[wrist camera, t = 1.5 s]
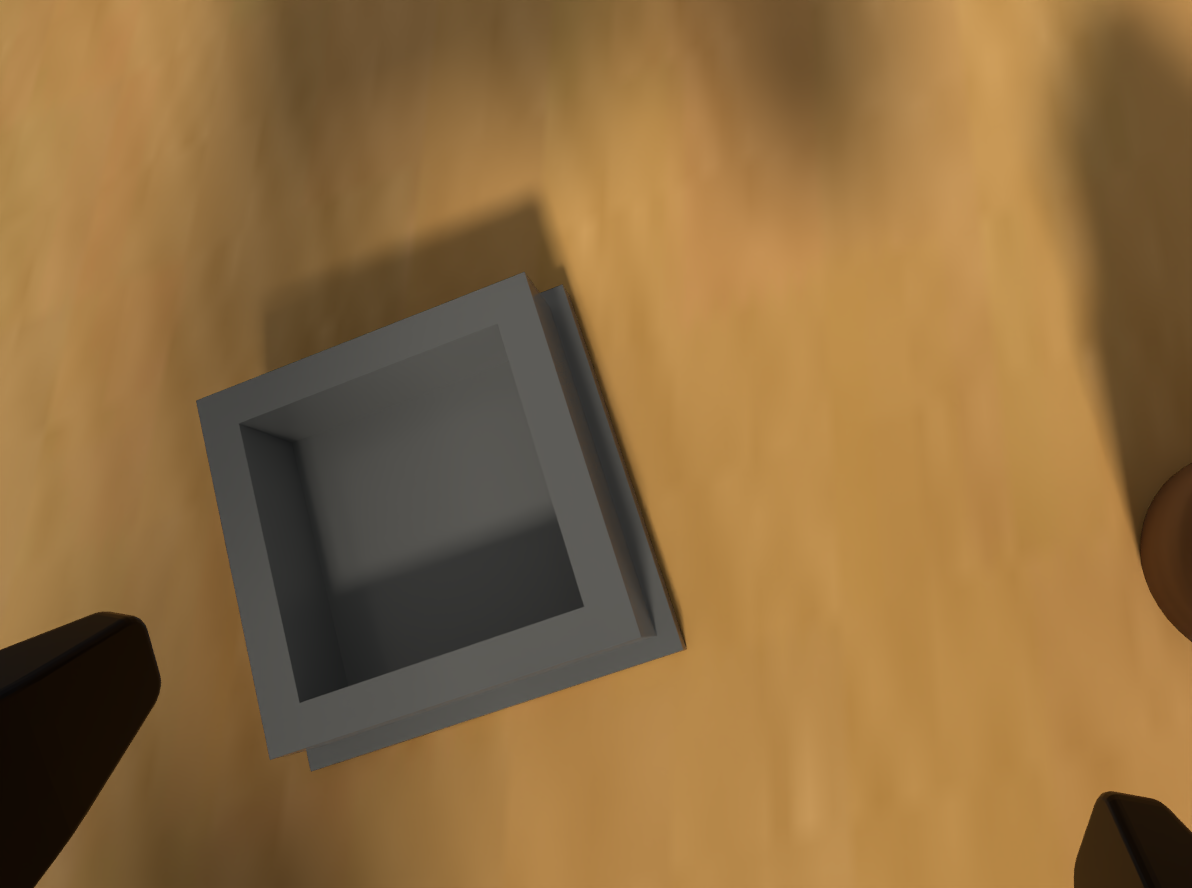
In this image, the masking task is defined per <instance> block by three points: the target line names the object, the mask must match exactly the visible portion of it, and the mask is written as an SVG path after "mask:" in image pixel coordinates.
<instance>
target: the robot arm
mask: <svg viewBox="0 0 1192 888" xmlns="http://www.w3.org/2000/svg"><path fill="white" fill-rule="evenodd" d="M160 687H161V678H160V673H159V670H158V666H157V662H156V659H155V655H154V652H153V648H152V645H151V641H150V637H149V634H148V630H147V628H146V625H145V624H144V623H143V622H142V620H141V619H139V618H137V617H135V616H131V615H125V614H119V613H114V612H98V613H95V614H92V615H89V616H87V617H84V618H82V619H79V620H76V621H74V622H71V623H69V624H66V625H63V626H61V627H58V628H56V629H53V630H51V631H48V632H45V633H43V634H40V635H38V636H35V637H32V638H30V639H27V640H25V641H22V642H19V643H17V644H14V645H12V646H9V647H7V648H4V649H1V650H0V888H34V887H35V886H36V884H37V883H38V882H39V880H40V879H41V878H42V876H43V875H44V874H45V872H46V871H47V870H48V868H49V867H50V866H51V864H52V863H53V862H54V860H55V859H56V858H57V856H58V855H59V853H60V852H61V851H62V849H63V848H64V846H65V845H66V844H67V842H68V841H69V840H70V838H71V837H72V835H73V834H74V832H75V831H76V829H77V828H78V826H79V825H80V823H81V822H82V820H83V818H84V817H85V815H86V814H87V812H88V811H89V809H90V808H91V806H92V804H93V803H94V801H95V799H96V798H97V796H98V795H99V793H100V791H101V790H102V788H103V787H104V785H105V783H106V782H107V780H108V779H109V777H110V775H111V774H112V772H113V771H114V769H115V767H116V766H117V764H118V763H119V761H120V759H121V758H122V756H123V755H124V753H125V751H126V750H127V748H128V746H129V745H130V743H131V742H132V740H133V738H134V737H135V735H136V734H137V732H138V730H139V729H140V727H141V726H142V724H143V722H144V721H145V719H146V718H147V716H148V714H149V713H150V711H151V710H152V708H153V706H154V705H155V703H156V701H157V698H158V696H159V692H160ZM1074 888H1192V832H1191V831H1190V830H1189V829H1188V828H1187V827H1186V826H1185V825H1184V824H1183V823H1182V822H1181V821H1180V820H1179V819H1178V818H1177V817H1176V816H1175V814H1174V813H1173V812H1172V811H1171V810H1170V809H1169V808H1167V807H1166V806H1165V805H1164V804H1162V803H1161V802H1159V801H1157V800H1155V799H1152V798H1147V797H1141V796H1135V795H1130V794H1124V793H1119V792H1113V791H1109V792H1105V793H1102V794H1101V795H1100V796H1099V798H1098V799H1097V800H1096V803H1095V805H1094V808H1093V811H1092V814H1091V817H1090V820H1089V823H1088V826H1087V828H1086V831H1085V834H1084V837H1083V840H1082V843H1081V846H1080V849H1079V852H1078V855H1077V858H1076V862H1075V868H1074Z"/></svg>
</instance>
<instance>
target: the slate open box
mask: <svg viewBox="0 0 1192 888" xmlns="http://www.w3.org/2000/svg"><path fill="white" fill-rule="evenodd" d="M196 402H197V407H198V412H199V417H200V422H201V427H202V432H203V437H204V441H205V446H206V451H207V456H208V461H209V466H210V471H211V475H212V480H213V485H214V490H215V495H216V500H217V505H218V510H219V514H220V519H221V524H222V529H223V534H224V539H225V544H226V548H227V553H228V558H229V563H230V568H231V573H232V578H233V582H234V587H235V592H236V597H237V602H238V607H239V612H240V617H241V621H242V626H243V631H244V636H245V641H246V646H247V651H248V655H249V660H250V665H251V670H252V675H253V680H254V685H255V690H256V694H257V699H258V704H259V709H260V714H261V719H262V724H263V728H264V733H265V738H266V743H267V748H268V753H269V758H270V760H271V759H275V758H279V757H283V756H287V755H291V754H294V753H298V752H302V751H307V756H308V761H309V765H310V770H311V771H314V770H317V769H321V768H324V767H327V766H330V765H333V764H336V763H340V762H343V761H346V760H349V759H352V758H355V757H358V756H361V755H364V754H367V753H370V752H373V751H376V750H379V749H382V748H385V747H389V746H392V745H395V744H398V743H401V742H404V741H407V740H410V739H413V738H416V737H419V736H422V735H425V734H428V733H431V732H434V731H438V730H441V729H444V728H447V727H450V726H453V725H456V724H459V723H462V722H465V721H468V720H471V719H474V718H477V717H480V716H483V715H487V714H490V713H493V712H496V711H499V710H502V709H505V708H508V707H511V706H514V705H517V704H520V703H523V702H526V701H529V700H532V699H535V698H539V697H542V696H545V695H548V694H551V693H554V692H557V691H560V690H563V689H566V688H569V687H572V686H575V685H578V684H581V683H584V682H588V681H591V680H594V679H597V678H600V677H603V676H606V675H609V674H612V673H615V672H618V671H621V670H624V669H627V668H630V667H633V666H637V665H640V664H643V663H646V662H649V661H652V660H655V659H658V658H661V657H664V656H667V655H670V654H673V653H676V652H679V651H682V650H686V649H687V648H686V645H685V642H684V639H683V636H682V633H681V630H680V627H679V624H678V621H677V618H676V615H675V612H674V609H673V606H672V603H671V600H670V597H669V594H668V591H667V588H666V585H665V582H664V579H663V576H662V573H661V570H660V567H659V564H658V561H657V558H656V555H655V552H654V549H653V546H652V543H651V540H650V537H649V534H648V531H647V528H646V525H645V522H644V519H643V516H642V513H641V510H640V507H639V504H638V501H637V498H636V495H635V492H634V489H633V486H632V483H631V480H630V477H629V473H628V470H627V467H626V464H625V461H624V458H623V455H622V452H621V449H620V446H619V443H618V440H617V437H616V434H615V431H614V428H613V425H612V422H611V419H610V416H609V413H608V410H607V407H606V404H605V401H604V398H603V395H602V392H601V389H600V386H599V383H598V380H597V377H596V374H595V371H594V368H593V365H592V362H591V359H590V356H589V353H588V350H587V347H586V344H585V341H584V338H583V335H582V332H581V329H580V326H579V323H578V320H577V317H576V314H575V311H574V308H573V305H572V302H571V299H570V296H569V294H568V292H567V291H566V289H565V288H564V286H563V285H560V286H557V287H555V288H552V289H549V290H547V291H544V292H542V293H539V291H538V290H537V288H536V287H535V286H534V284H533V283H532V282H531V280H530V279H529V277H528V276H527V275H526V273H525V272H523V273H520V274H518V275H515V276H513V277H510V278H507V279H505V280H502V281H500V282H497V283H495V284H492V285H490V286H487V287H485V288H482V289H479V290H477V291H474V292H472V293H469V294H467V295H464V296H462V297H459V298H457V299H454V300H451V301H449V302H446V303H444V304H441V305H439V306H436V307H434V308H431V309H428V310H426V311H423V312H421V313H418V314H416V315H413V316H411V317H408V318H406V319H403V320H400V321H398V322H395V323H393V324H390V325H388V326H385V327H383V328H380V329H378V330H375V331H372V332H370V333H367V334H365V335H362V336H360V337H357V338H355V339H352V340H350V341H347V342H344V343H342V344H339V345H337V346H334V347H332V348H329V349H327V350H324V351H321V352H319V353H316V354H314V355H311V356H309V357H306V358H304V359H301V360H299V361H296V362H293V363H291V364H288V365H286V366H283V367H281V368H278V369H276V370H273V371H271V372H268V373H265V374H263V375H260V376H258V377H255V378H253V379H250V380H248V381H245V382H243V383H240V384H237V385H235V386H232V387H230V388H227V389H225V390H222V391H220V392H217V393H214V394H212V395H209V396H207V397H204V398H202V399H199V400H197V401H196Z"/></svg>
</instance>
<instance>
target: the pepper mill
mask: <svg viewBox="0 0 1192 888" xmlns="http://www.w3.org/2000/svg"><path fill="white" fill-rule="evenodd" d="M1140 552H1141V561H1142V567H1143V571H1144V575H1145V579H1146V582H1147V584H1148V587H1149V589H1150V592H1151V594H1152V596H1153V597H1154V599H1155V601H1156V603H1157V605H1158V606H1159V608H1160V609H1161V610H1162V612H1163V613H1164V615H1165V616H1166V617H1167V619H1168V620H1169V621H1170V622H1171V623H1172V624H1173V625H1174V626H1175V627H1176V628H1177V629H1178V631H1180V632H1181V633H1182V634H1183V635H1184V636H1185V637H1187V638H1188V639H1189V640H1190V641H1191V642H1192V463H1191V464H1189V465H1187V466H1186V467H1184V468H1183V469H1181V470H1180V471H1179V472H1177V473H1176V474H1175V475H1173V476H1172V477H1171V478H1170V479H1169V480H1168V481H1167V482H1166V483H1165V484H1164V485H1163V486H1162V488H1161V489H1160V490H1159V492H1158V493H1157V495H1156V496H1155V497H1154V499H1153V501H1152V503H1151V505H1150V507H1149V509H1148V511H1147V514H1146V517H1145V520H1144V522H1143V528H1142V533H1141V546H1140Z"/></svg>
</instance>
